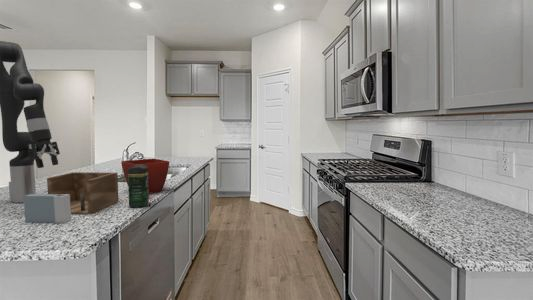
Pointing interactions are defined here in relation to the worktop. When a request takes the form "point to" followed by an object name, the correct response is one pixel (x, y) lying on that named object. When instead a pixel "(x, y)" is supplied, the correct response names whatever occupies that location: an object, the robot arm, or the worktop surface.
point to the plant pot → (150, 172)
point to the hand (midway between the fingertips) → (48, 166)
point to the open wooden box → (86, 190)
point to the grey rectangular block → (47, 208)
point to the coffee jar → (138, 186)
